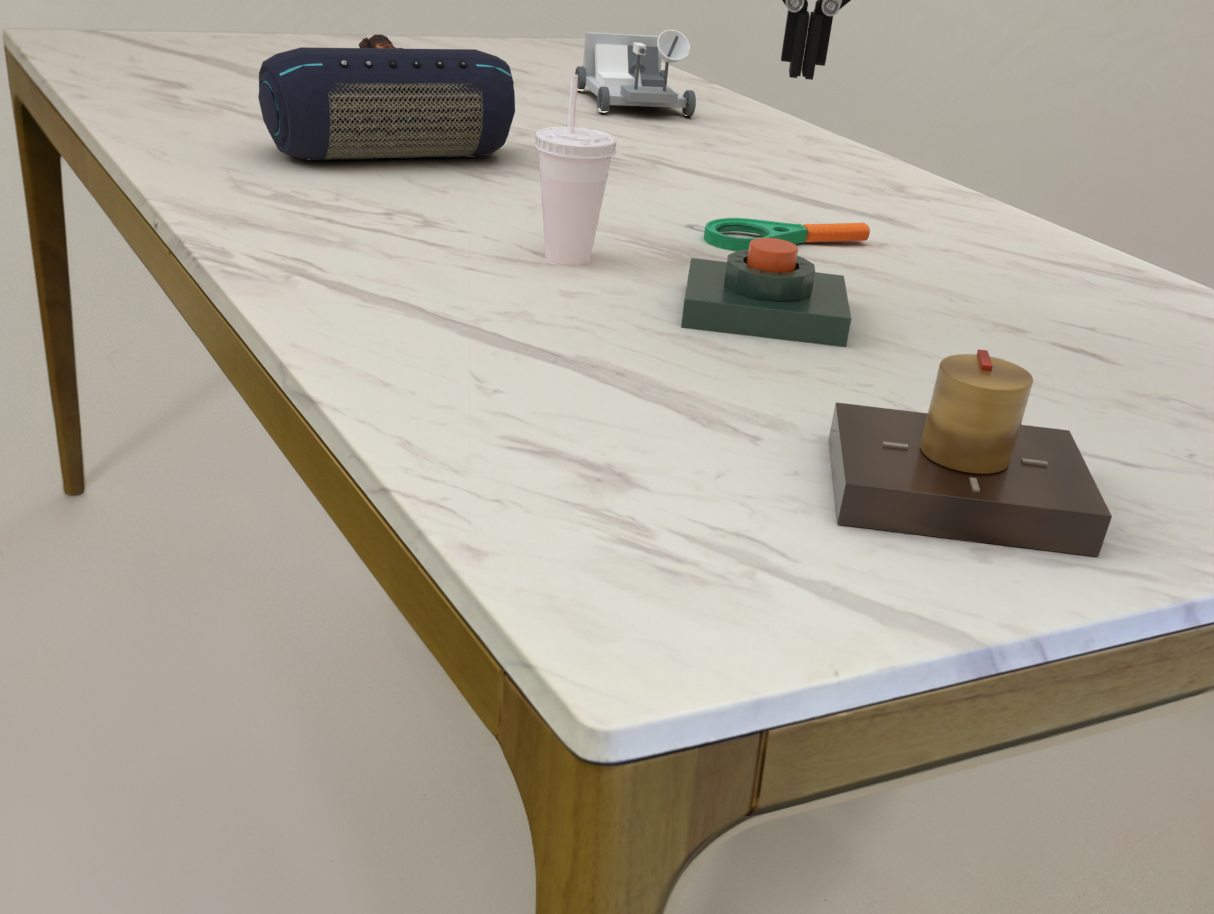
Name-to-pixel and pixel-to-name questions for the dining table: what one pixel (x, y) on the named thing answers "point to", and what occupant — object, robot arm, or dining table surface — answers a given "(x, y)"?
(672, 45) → the toy car
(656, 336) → the dining table surface
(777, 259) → the button
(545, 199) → the smoothie
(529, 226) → the dining table surface
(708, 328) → the button box
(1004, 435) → the dial
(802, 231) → the magnifying glass
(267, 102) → the portable speaker
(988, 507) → the holder base
